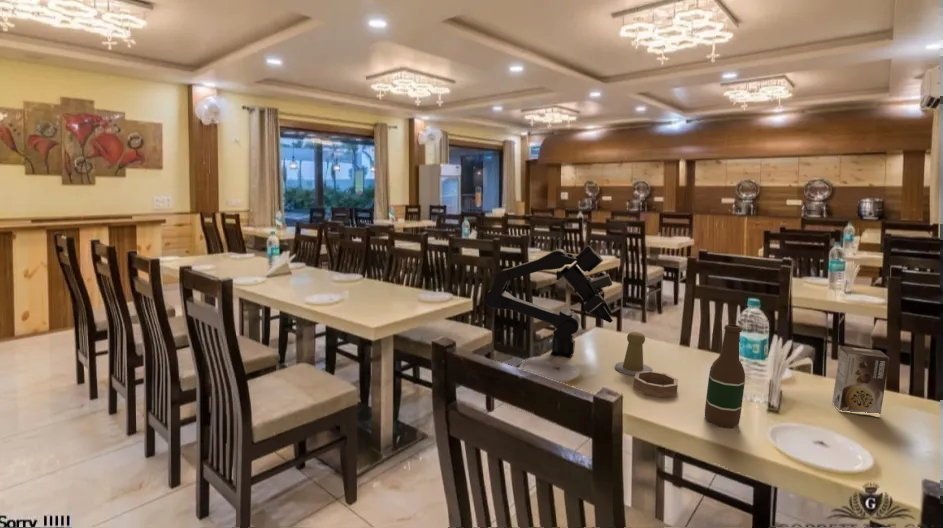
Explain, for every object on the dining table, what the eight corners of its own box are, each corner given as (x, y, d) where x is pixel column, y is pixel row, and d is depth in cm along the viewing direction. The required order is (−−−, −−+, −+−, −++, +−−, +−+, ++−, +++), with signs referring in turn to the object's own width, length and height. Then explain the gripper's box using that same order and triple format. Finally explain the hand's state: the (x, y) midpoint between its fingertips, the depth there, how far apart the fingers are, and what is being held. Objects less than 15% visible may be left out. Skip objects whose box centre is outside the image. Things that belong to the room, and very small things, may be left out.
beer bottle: (737, 432, 122) (750, 332, 118) (701, 422, 126) (713, 326, 122) (740, 419, 128) (753, 325, 125) (706, 411, 132) (717, 319, 129)
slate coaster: (612, 372, 157) (612, 370, 157) (617, 361, 167) (617, 359, 167) (651, 378, 153) (651, 376, 153) (653, 367, 163) (653, 365, 163)
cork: (647, 370, 158) (651, 335, 157) (630, 371, 157) (634, 336, 155) (635, 363, 164) (639, 329, 162) (618, 364, 162) (622, 330, 161)
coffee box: (870, 408, 139) (881, 350, 136) (880, 418, 133) (891, 357, 130) (830, 402, 141) (839, 345, 139) (838, 412, 135) (848, 352, 133)
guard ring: (632, 392, 143) (633, 381, 142) (636, 378, 153) (636, 368, 153) (676, 400, 139) (677, 389, 138) (677, 385, 149) (678, 375, 148)
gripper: (597, 269, 157) (633, 309, 156) (598, 261, 174) (630, 296, 174) (569, 293, 160) (603, 332, 159) (572, 282, 178) (603, 317, 177)
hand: (611, 318), depth 167 cm, fingers open, 9 cm apart
